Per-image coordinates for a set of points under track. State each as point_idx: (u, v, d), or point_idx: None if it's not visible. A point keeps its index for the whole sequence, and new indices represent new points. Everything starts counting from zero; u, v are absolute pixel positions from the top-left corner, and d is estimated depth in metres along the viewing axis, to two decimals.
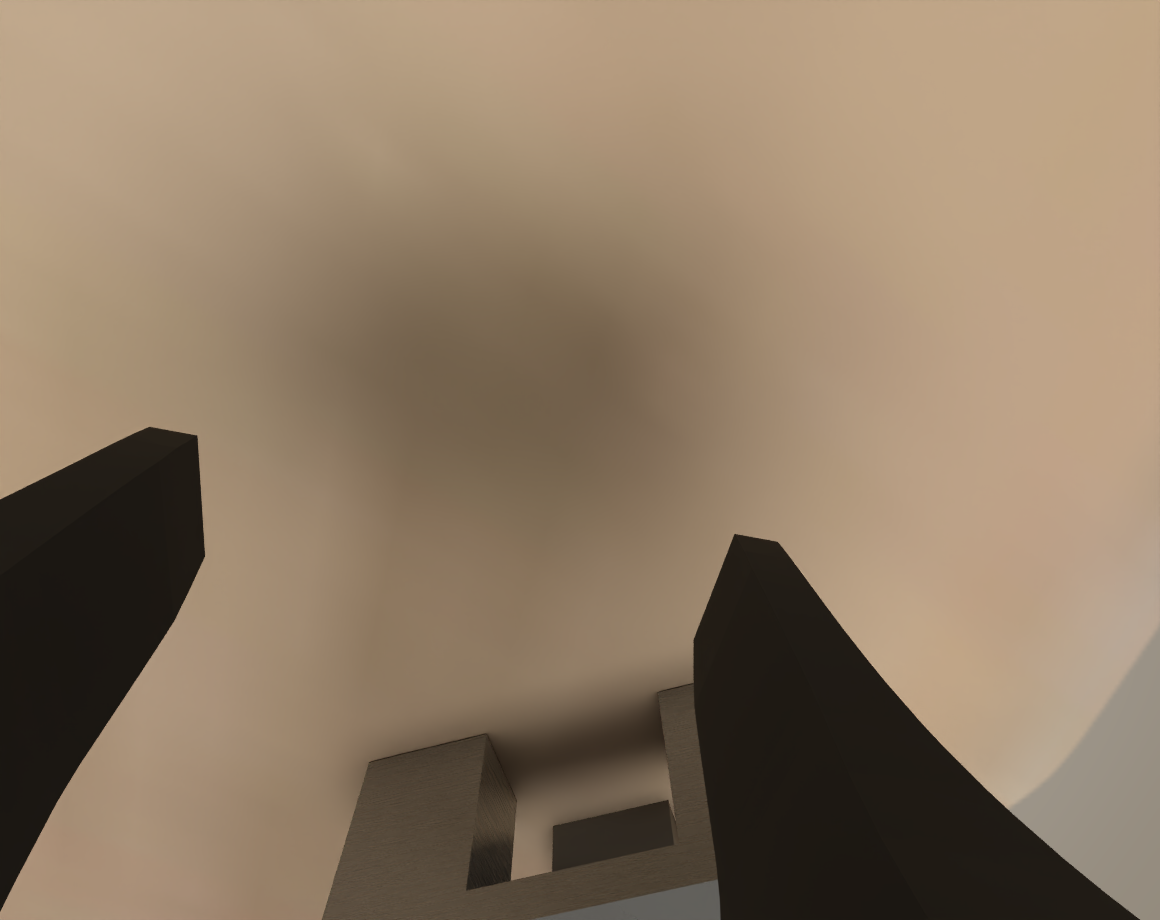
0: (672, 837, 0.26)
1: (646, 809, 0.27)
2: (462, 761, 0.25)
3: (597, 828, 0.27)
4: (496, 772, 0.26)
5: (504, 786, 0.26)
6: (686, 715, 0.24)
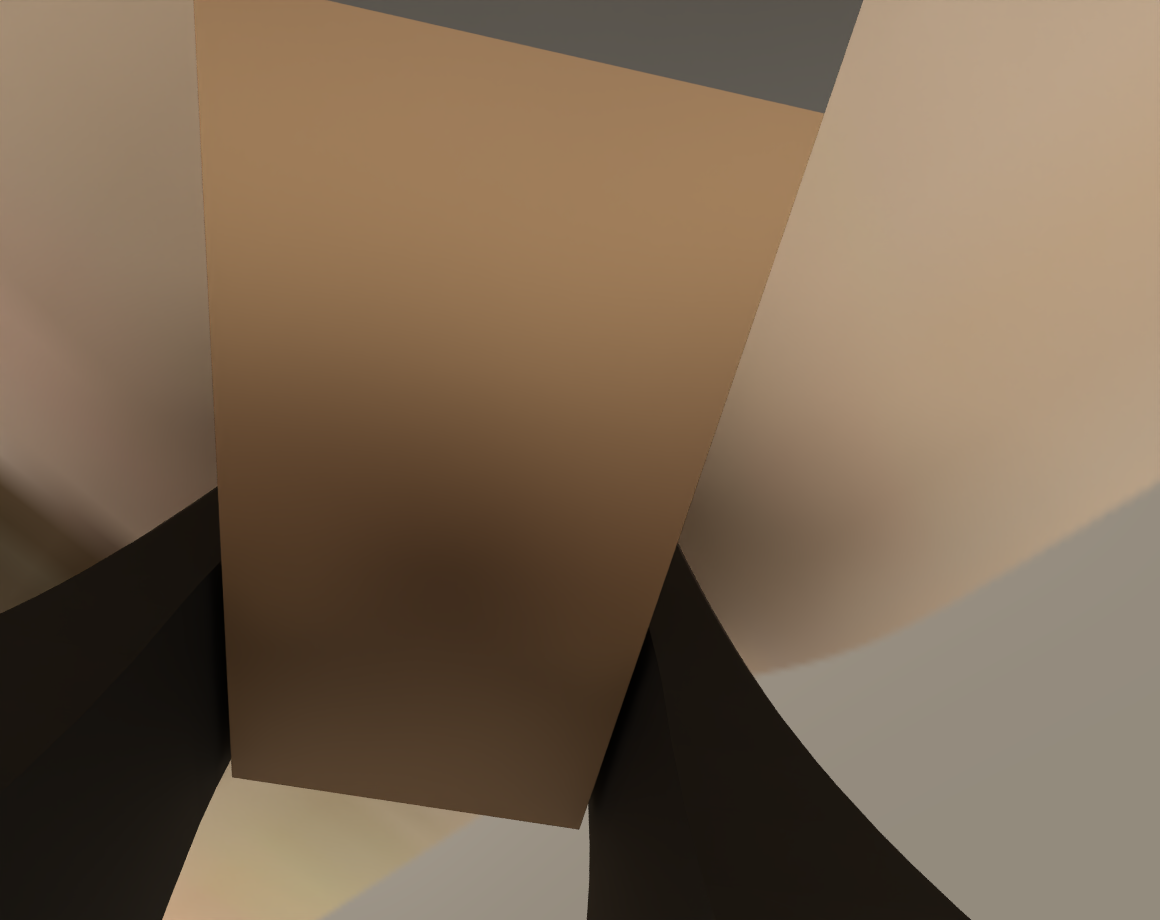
0: None
1: None
2: None
3: None
4: None
5: None
6: None
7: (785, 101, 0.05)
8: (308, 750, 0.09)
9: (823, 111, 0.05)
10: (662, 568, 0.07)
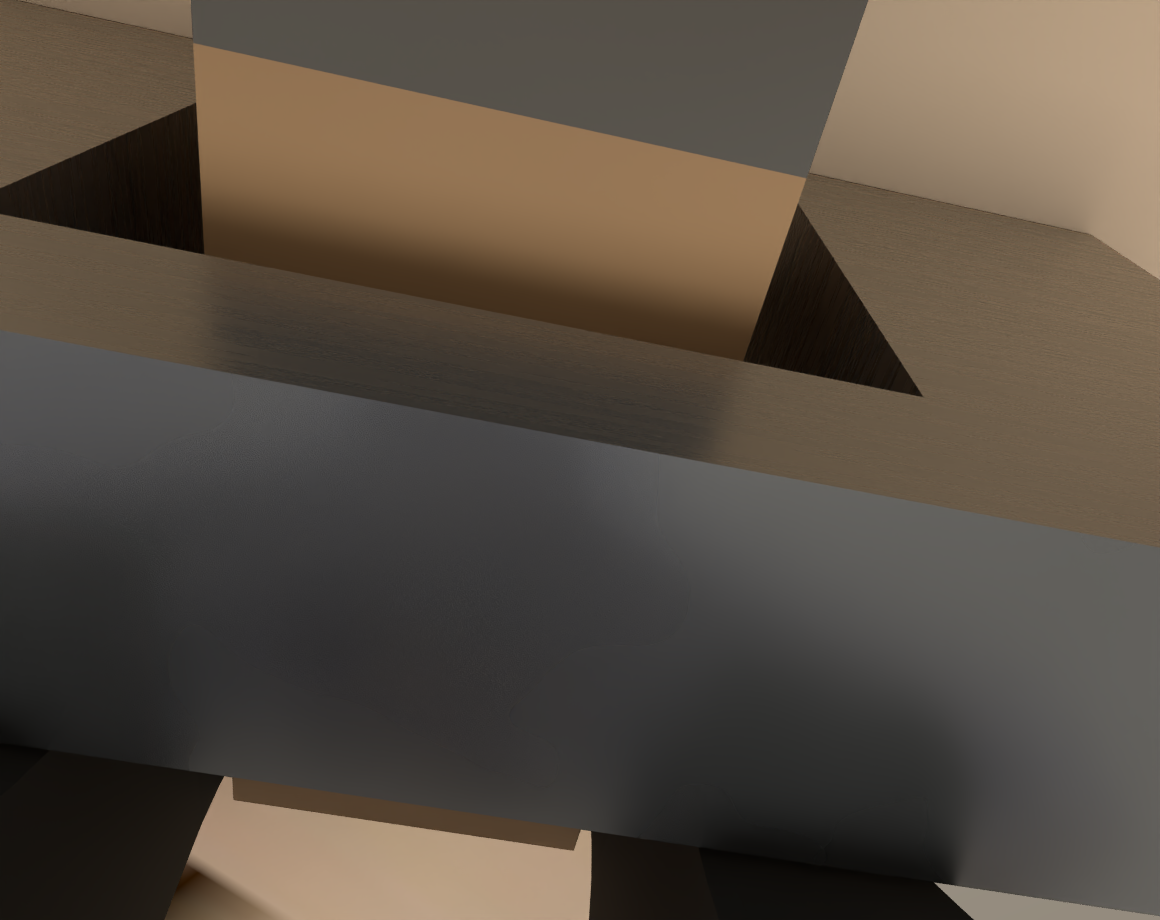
0: None
1: None
2: (193, 58, 0.08)
3: None
4: None
5: None
6: (862, 211, 0.09)
7: (767, 166, 0.06)
8: None
9: (805, 176, 0.05)
10: None
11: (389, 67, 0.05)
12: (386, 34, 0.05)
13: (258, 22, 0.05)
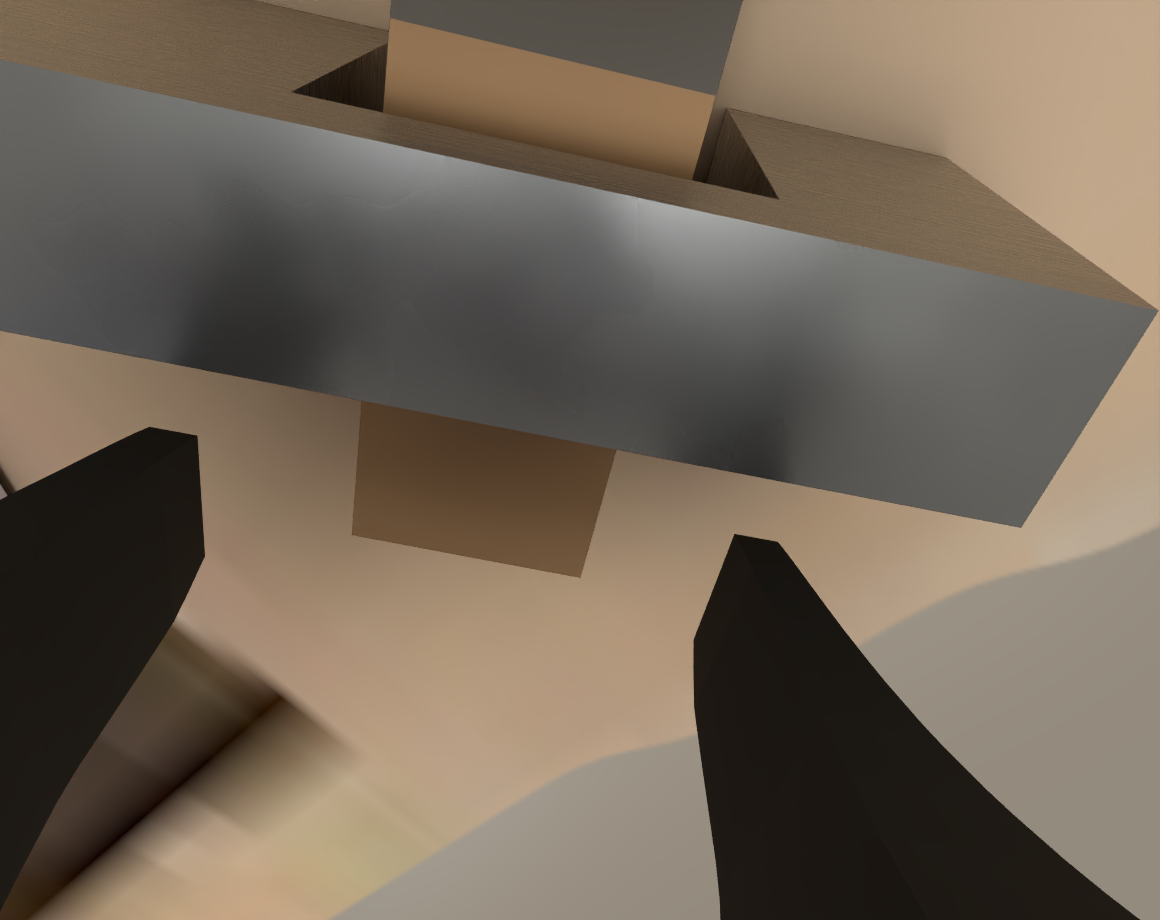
0: None
1: None
2: (346, 31, 0.13)
3: None
4: None
5: None
6: (781, 133, 0.13)
7: (695, 90, 0.10)
8: (404, 512, 0.14)
9: (715, 94, 0.10)
10: None
11: (493, 32, 0.10)
12: (492, 14, 0.10)
13: (425, 7, 0.10)
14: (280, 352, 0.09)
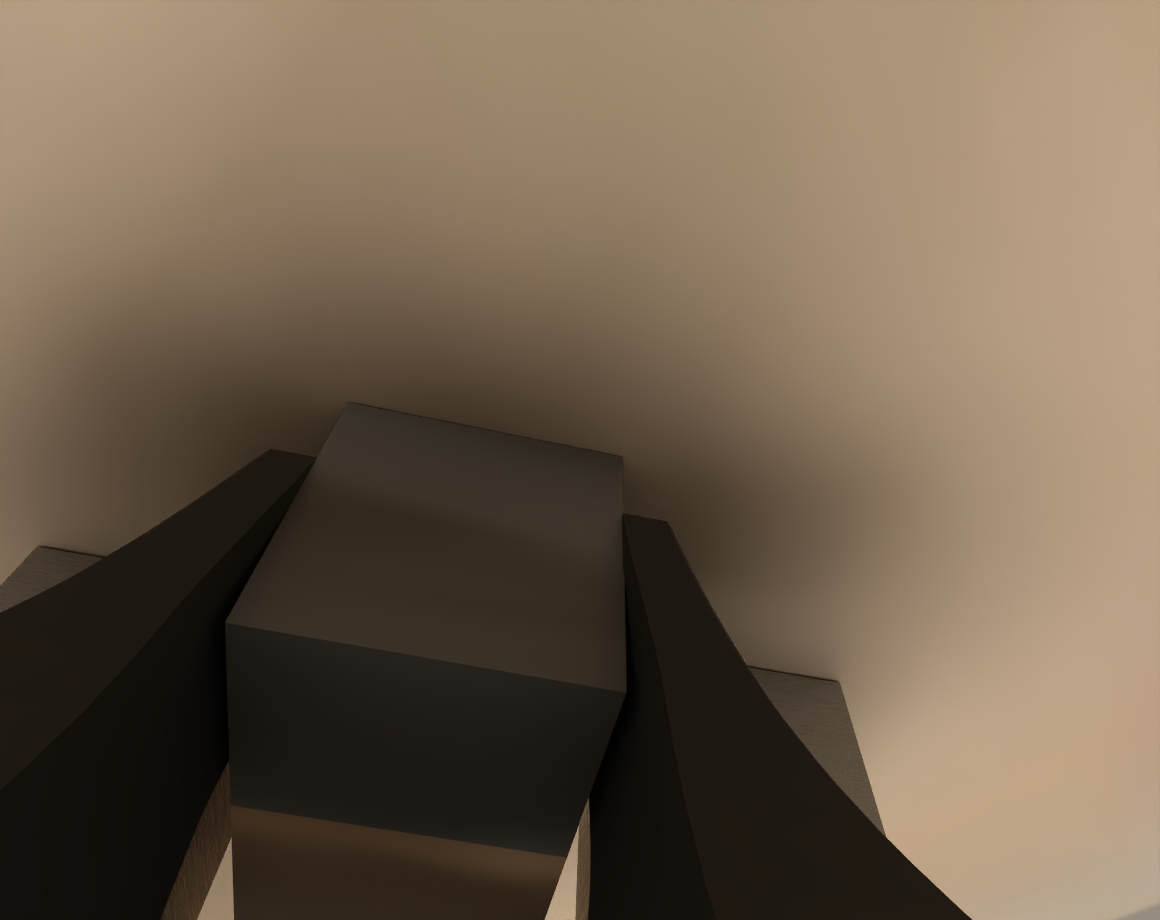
0: (621, 519, 0.11)
1: (570, 454, 0.12)
2: None
3: (449, 442, 0.11)
4: None
5: None
6: None
7: (547, 845, 0.10)
8: None
9: (566, 856, 0.10)
10: None
11: (336, 817, 0.10)
12: (334, 807, 0.10)
13: (265, 800, 0.10)
14: None
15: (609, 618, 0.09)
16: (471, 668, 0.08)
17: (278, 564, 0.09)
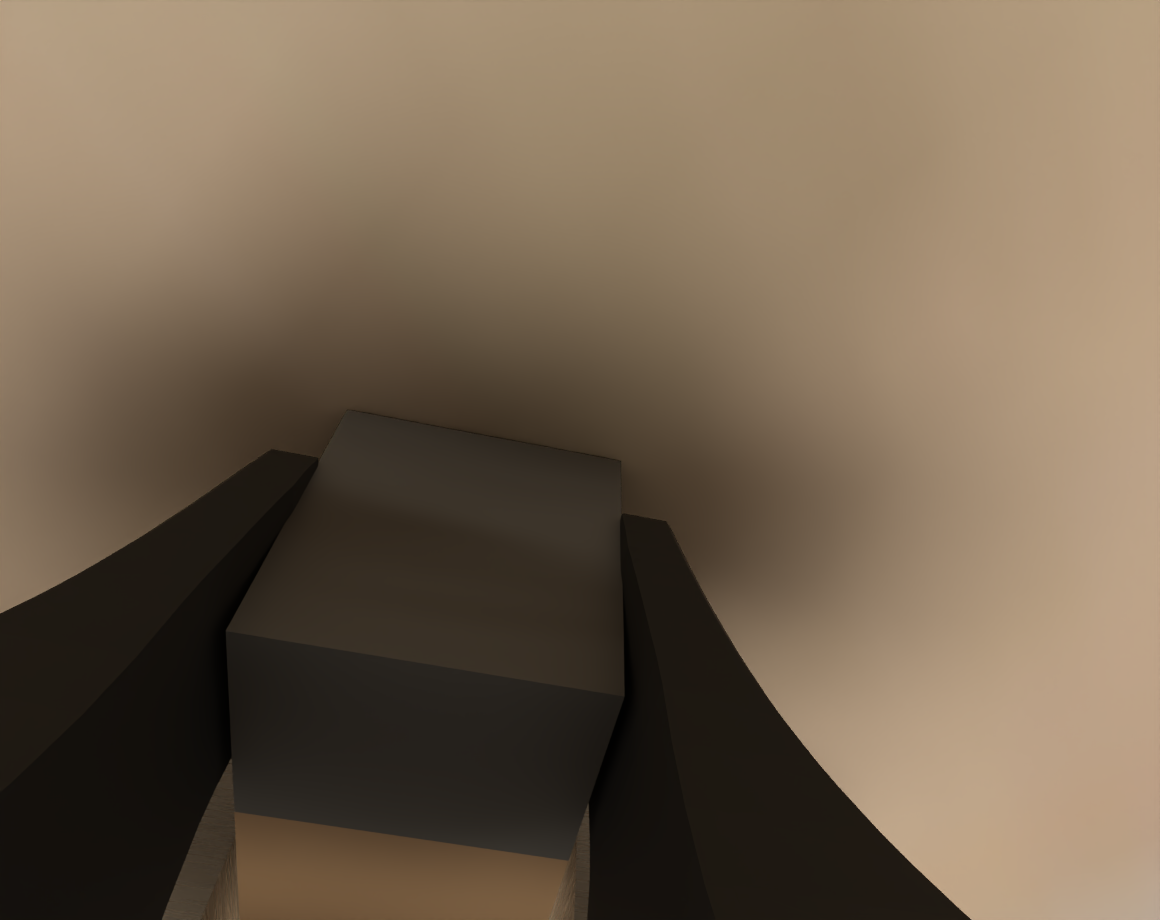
0: (619, 523, 0.11)
1: (569, 458, 0.12)
2: None
3: (447, 448, 0.11)
4: None
5: None
6: None
7: (548, 849, 0.10)
8: None
9: (568, 859, 0.10)
10: None
11: (340, 822, 0.10)
12: (336, 812, 0.10)
13: (268, 807, 0.10)
14: None
15: (607, 622, 0.09)
16: (470, 674, 0.08)
17: (278, 572, 0.09)
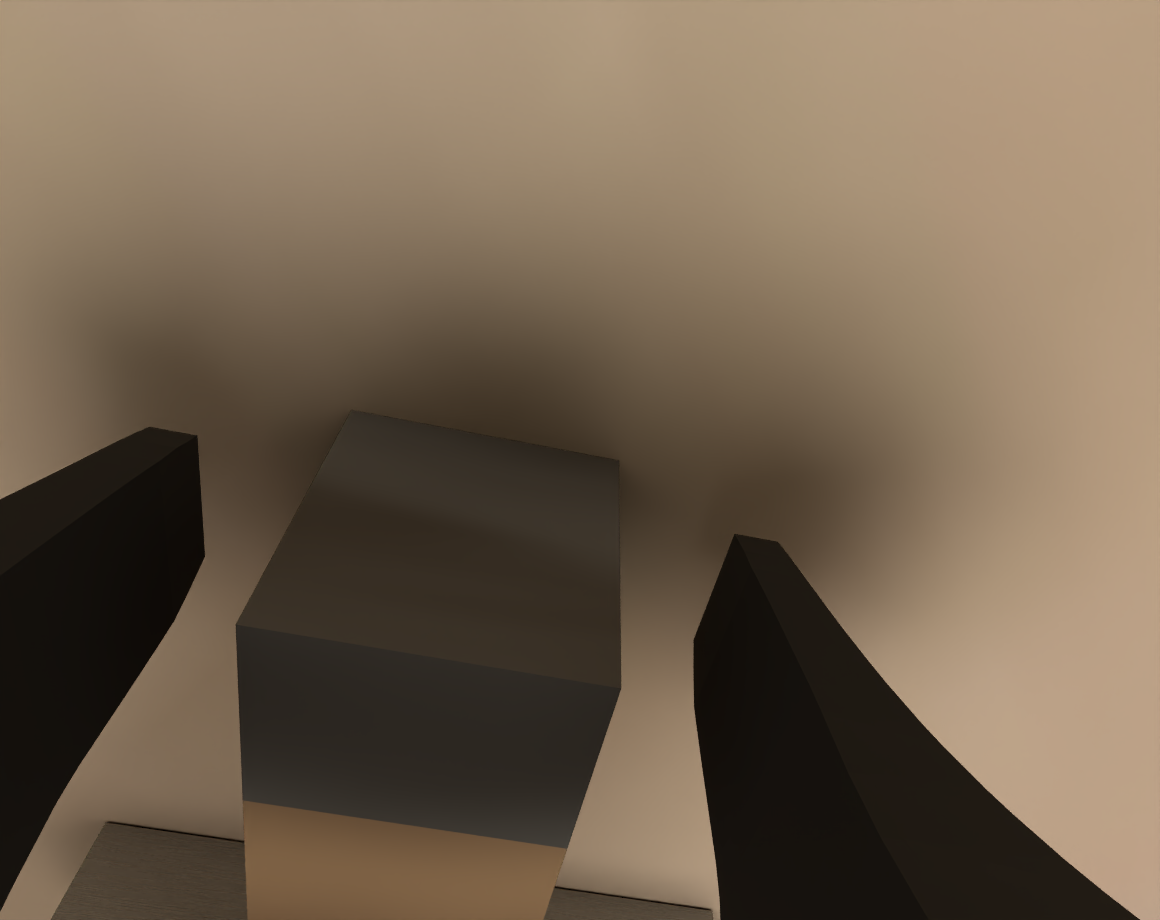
0: (617, 521, 0.11)
1: (568, 457, 0.12)
2: (243, 888, 0.17)
3: (449, 447, 0.12)
4: None
5: None
6: None
7: (547, 836, 0.10)
8: None
9: (566, 847, 0.10)
10: None
11: (344, 811, 0.10)
12: (342, 801, 0.10)
13: (277, 795, 0.10)
14: None
15: (605, 617, 0.09)
16: (473, 667, 0.09)
17: (286, 568, 0.09)
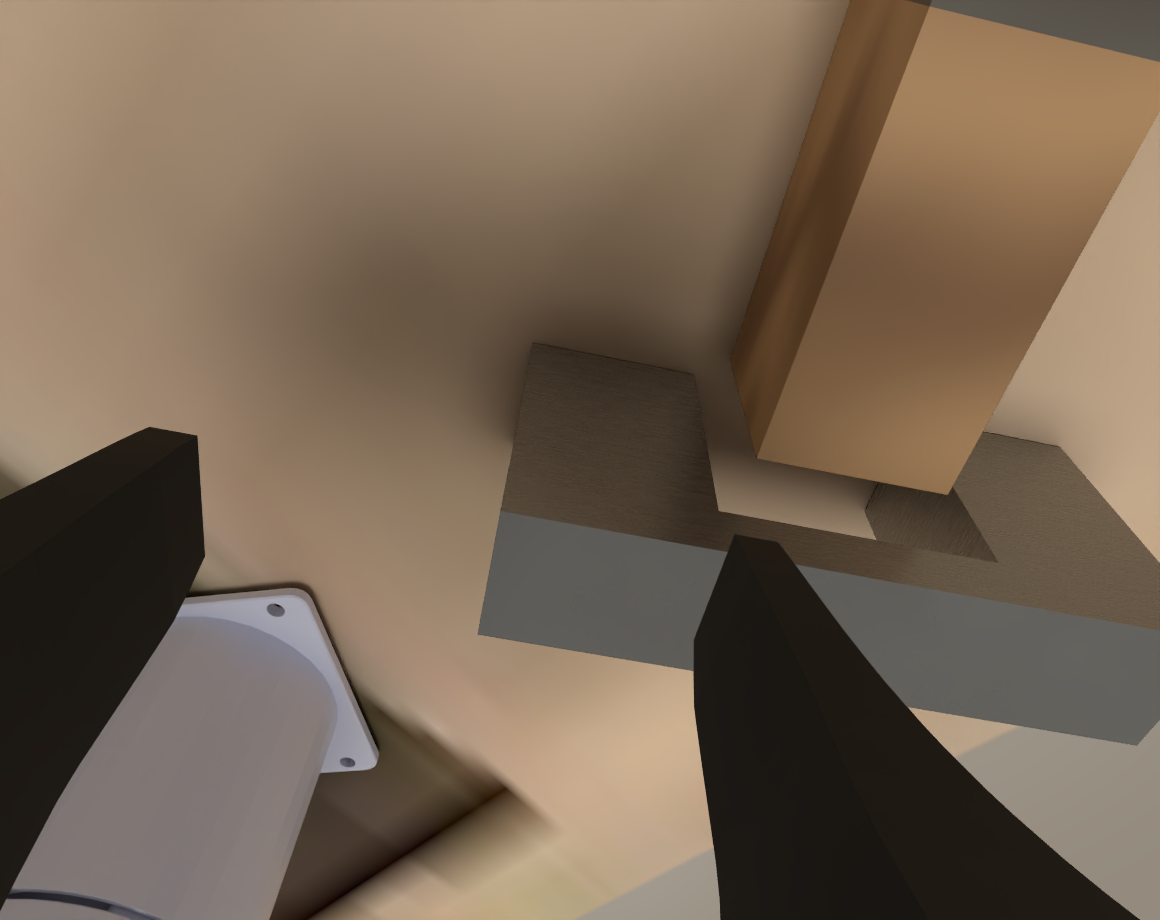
0: None
1: None
2: (669, 387, 0.19)
3: None
4: None
5: None
6: None
7: None
8: (809, 437, 0.16)
9: None
10: (1047, 308, 0.14)
11: (1012, 17, 0.12)
12: (1016, 2, 0.12)
13: None
14: None
15: None
16: None
17: None
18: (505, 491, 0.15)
